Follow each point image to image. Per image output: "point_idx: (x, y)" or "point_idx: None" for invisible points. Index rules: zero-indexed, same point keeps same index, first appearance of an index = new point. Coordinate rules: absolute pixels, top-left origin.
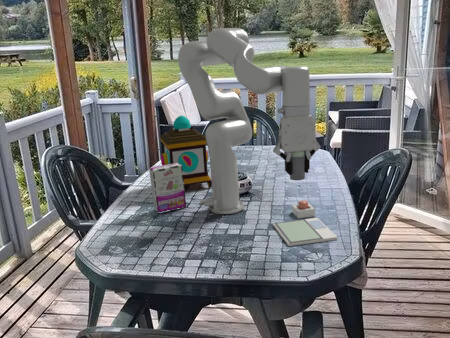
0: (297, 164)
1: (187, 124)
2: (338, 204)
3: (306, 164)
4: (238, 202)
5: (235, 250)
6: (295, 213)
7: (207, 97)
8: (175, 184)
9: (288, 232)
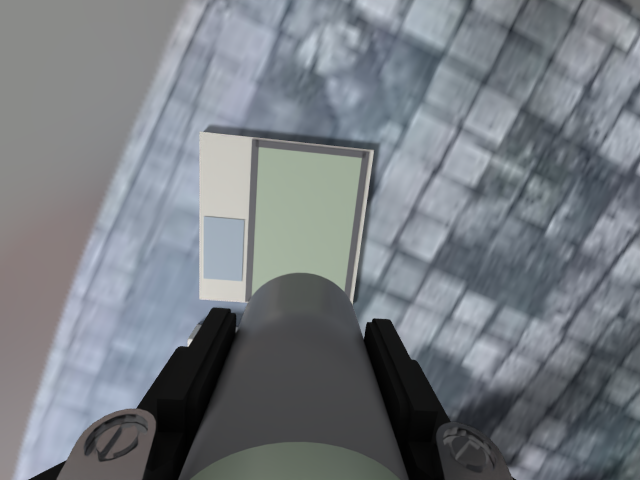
0: (332, 359)
1: None
2: (83, 380)
3: (204, 361)
4: None
5: (526, 189)
6: None
7: None
8: None
9: (338, 227)
